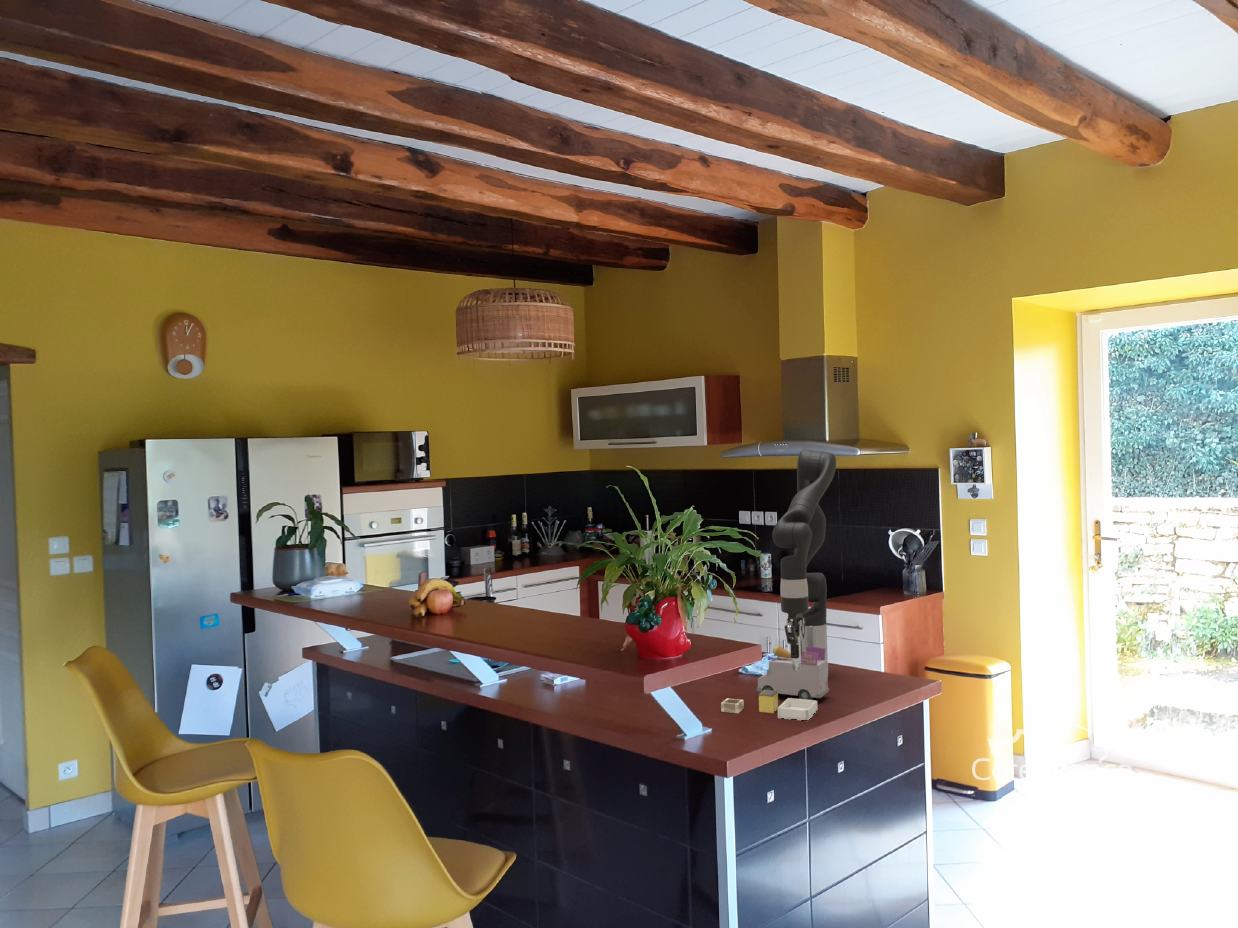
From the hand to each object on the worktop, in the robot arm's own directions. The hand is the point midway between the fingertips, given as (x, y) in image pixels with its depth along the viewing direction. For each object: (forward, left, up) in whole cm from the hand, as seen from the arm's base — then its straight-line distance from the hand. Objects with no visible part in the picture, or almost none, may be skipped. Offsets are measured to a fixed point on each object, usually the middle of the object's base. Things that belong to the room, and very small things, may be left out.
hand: (796, 656), depth 257 cm
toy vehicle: (-16, -6, -16) cm, 24 cm away
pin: (0, 0, -4) cm, 4 cm away
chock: (-1, -9, -16) cm, 19 cm away
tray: (0, 0, -16) cm, 16 cm away
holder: (+2, -18, -16) cm, 25 cm away
